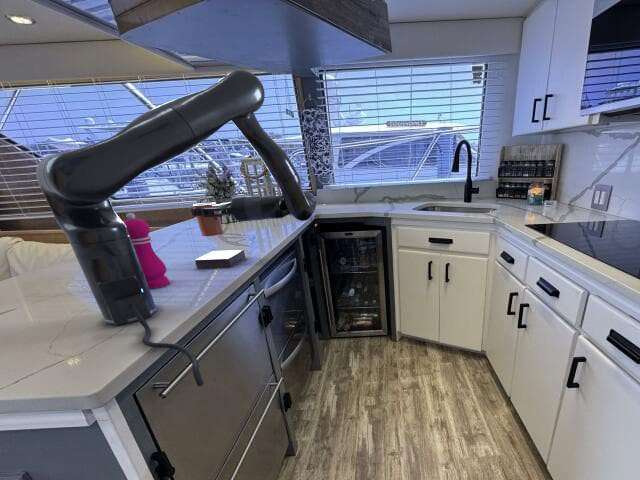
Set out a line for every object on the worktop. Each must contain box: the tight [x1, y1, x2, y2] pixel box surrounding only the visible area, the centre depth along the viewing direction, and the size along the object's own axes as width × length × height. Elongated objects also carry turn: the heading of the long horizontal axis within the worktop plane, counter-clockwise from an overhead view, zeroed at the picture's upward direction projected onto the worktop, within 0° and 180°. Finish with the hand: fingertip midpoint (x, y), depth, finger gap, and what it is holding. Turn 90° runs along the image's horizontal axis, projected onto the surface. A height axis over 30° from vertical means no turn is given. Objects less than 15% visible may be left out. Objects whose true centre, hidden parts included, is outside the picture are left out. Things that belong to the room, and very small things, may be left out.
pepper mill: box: [122, 212, 170, 290], centre depth 87 cm, size 7×7×20 cm
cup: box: [192, 202, 224, 237], centre depth 102 cm, size 6×6×10 cm
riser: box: [194, 249, 246, 270], centre depth 108 cm, size 11×11×3 cm
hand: (198, 210), depth 101 cm, fingers closed on cup, 6 cm apart
